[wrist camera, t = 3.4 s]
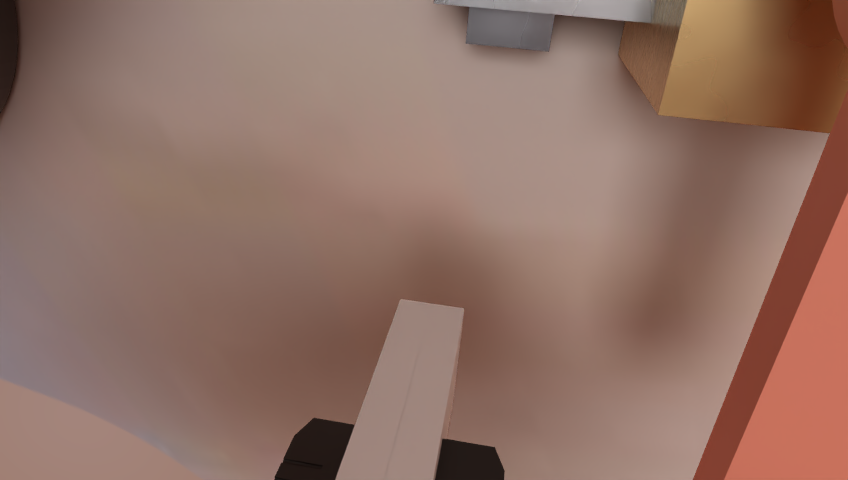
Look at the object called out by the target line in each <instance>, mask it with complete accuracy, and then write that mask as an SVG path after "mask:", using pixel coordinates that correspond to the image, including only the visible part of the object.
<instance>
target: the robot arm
mask: <svg viewBox="0 0 848 480" xmlns="http://www.w3.org/2000/svg"><path fill="white" fill-rule="evenodd" d="M16 60H17V19H16V10H15V3H14V0H0V112H1V111H2V109H3V107H4V105H5V102H6V100H7V98H8V95H9V92H10V89H11V86H12V82H13V78H14V74H15V67H16ZM463 317H464V308H459V307H452V306H445V305H439V304H432V303H425V302H418V301H411V300H405V299H400V301H399V304H398V307H397V310H396V313H395V315H394V318H393V321H392V324H391V326H390V329H389V332H388V335H387V338H386V340H385V343H384V346H383V349H382V351H381V354H380V357H379V360H378V362H377V365H376V368H375V371H374V374H373V376H372V379H371V382H370V385H369V387H368V390H367V393H366V396H365V399H364V401H363V404H362V407H361V410H360V412H359V415H358V418H357V421H356V423H355V425H352V424H346V423H340V422H335V421H329V420H323V419H317V418H313V419H312V420H311V421H310V422H309V423H308V424H307V425H306V426H304V427H303V428H302V429H301V430H300V431H299V432H298V433H297V434H296V435H295V436H294V438H293V440H292V442H291V444H290V446H289V448H288V450H287V452H286V455H285V457H284V460H283V463H281V465H280V467H279V469H278V471H277V474H276V476H275V480H504V472H505V471H504V469H503V466H502V464H501V461H500V459H499V457H498V454H497V452H496V449H495V447H490V446H484V445H478V444H472V443H466V442H460V441H455V440H449V439H447V436H448V430H449V424H450V418H451V412H452V406H453V400H454V393H455V384H456V376H457V367H458V359H459V351H460V342H461V334H462V325H463Z"/></svg>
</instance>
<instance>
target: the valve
mask: <svg viewBox="0 0 848 480" xmlns="http://www.w3.org/2000/svg"><path fill="white" fill-rule="evenodd" d="M434 3H435V4H446V5H457V6H468V7H469V15H468V25H467V36H466V44H476V45H487V46H497V47H507V48H517V49H528V50H538V51H548V52H549V48H550V42H551V36H552V29H553V23H554V17H555V14H556V15H567V16H578V17H589V18H600V19H611V20H622V21H625V24H624V29H623V34H622V38H621V43H620V48H619V53H618V55H619V57H620V58H621V60H622V61H623V63H624V64H625V66H626V67H627V69H628V70H629V72H630V73H631V75H632V76H633V78H634V79H635V81H636V82H637V84H638V85H639V87H640V88H641V90H642V91H643V93H644V94H645V96H646V97H647V99H648V100H649V102H650V103H651V105H652V106H653V108H654V109H655V111H656V112H657V114H658V115H664V116H673V117H683V118H692V119H701V120H711V121H720V122H730V123H739V124H748V125H758V126H767V127H777V128H786V129H795V130H805V131H814V132H824V133H830V132H831V130H832V127H833V125H834V122H835V120H836V117H837V115H838V112H839V110H840V107H841V105H842V102H843V100H844V97H845V95H846V92H847V90H848V48H847V46H846V45H845V43H844V41H843V39H842V37H841V35H840V33H839V31H838V28H837V24H836V21H835V17H834V12H833V4H832V0H434Z"/></svg>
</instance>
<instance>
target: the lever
mask: <svg viewBox="0 0 848 480" xmlns="http://www.w3.org/2000/svg"><path fill="white" fill-rule="evenodd" d="M832 4H833V12H834V17H835V21H836V24H837V28H838V31H839V33H840V35H841V37H842V39H843V41H844V43H845V45H846V46H847V48H848V0H832ZM693 480H848V90H847V92H846V95H845V97H844V100H843V102H842V105H841V107H840V110H839V112H838V115H837V117H836V120H835V122H834V125H833V127H832V130H831V132H830V135H829V138H828V140H827V143H826V145H825V148H824V150H823V153H822V155H821V158H820V160H819V163H818V165H817V168H816V170H815V173H814V175H813V178H812V180H811V183H810V185H809V188H808V191H807V193H806V196H805V198H804V201H803V203H802V206H801V208H800V211H799V213H798V216H797V218H796V221H795V223H794V226H793V228H792V231H791V233H790V236H789V238H788V241H787V243H786V246H785V249H784V251H783V254H782V256H781V259H780V261H779V264H778V266H777V269H776V271H775V274H774V276H773V279H772V281H771V284H770V286H769V289H768V291H767V294H766V296H765V299H764V302H763V304H762V307H761V309H760V312H759V314H758V317H757V319H756V322H755V324H754V327H753V329H752V332H751V334H750V337H749V339H748V342H747V344H746V347H745V349H744V352H743V355H742V357H741V360H740V362H739V365H738V367H737V370H736V372H735V375H734V377H733V380H732V382H731V385H730V387H729V390H728V392H727V395H726V397H725V400H724V402H723V405H722V408H721V410H720V413H719V415H718V418H717V420H716V423H715V425H714V428H713V430H712V433H711V435H710V438H709V440H708V443H707V445H706V448H705V450H704V453H703V455H702V458H701V461H700V463H699V466H698V468H697V471H696V473H695V476H694V478H693Z"/></svg>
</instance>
